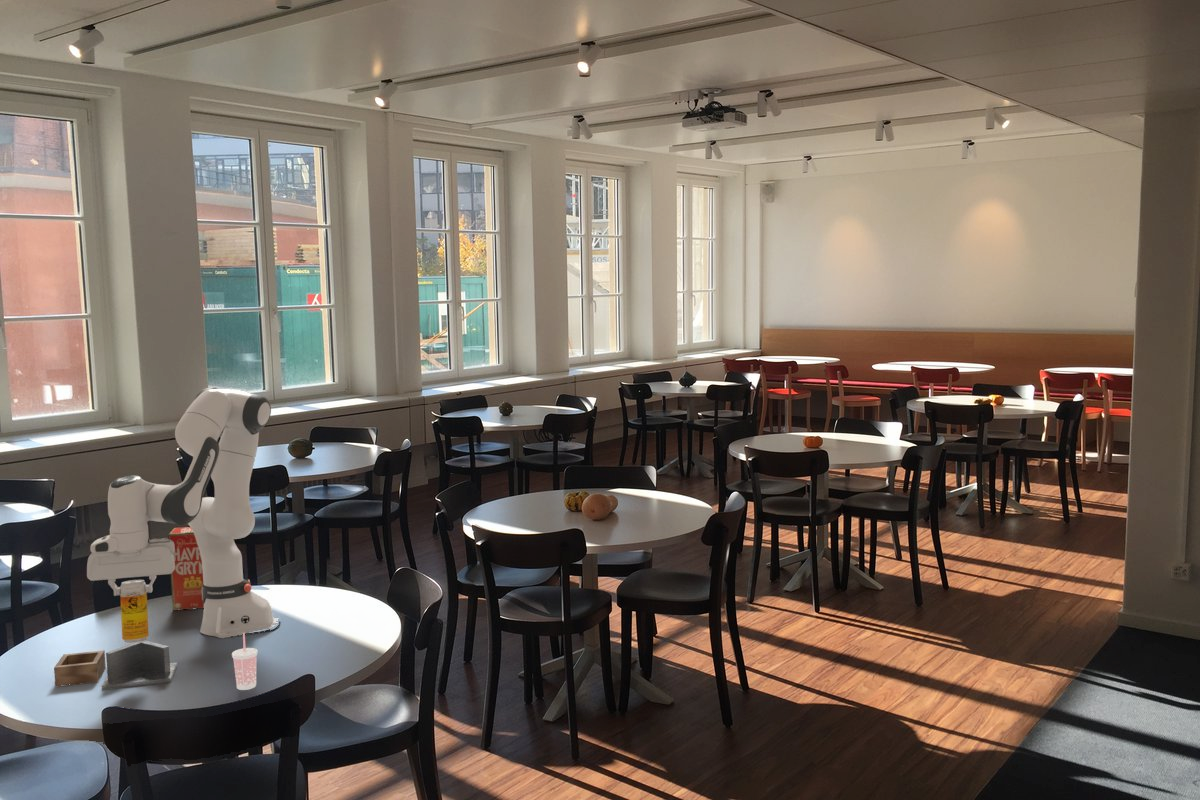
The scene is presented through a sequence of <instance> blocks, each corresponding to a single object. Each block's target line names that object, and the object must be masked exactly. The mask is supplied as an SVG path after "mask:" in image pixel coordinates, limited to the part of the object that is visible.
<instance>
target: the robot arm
mask: <svg viewBox="0 0 1200 800" xmlns="http://www.w3.org/2000/svg"><path fill="white" fill-rule="evenodd" d="M271 407H272V406H271V404H270V402H269V399H267V397H265V396H263V395H260V394H258V393H251V392H247V391H244V390H239V389H227V388H218V387H205V388H203V389H202V390H200V391H199V392H198V393H197V395H196V396H195V398H194V400H193V401H192V402H191V404H190V405H189V406H188V407H187V408H186V410H185V412H184V413H183V415H182V416H181V418H180V419H179V421H178V423H177V424H176V427H175V431H174V438H175V441H176V442H177V445H178V446H179V448H181V449H182V450H183V451H184V452H185V453H186V454H188V455H189V456H191V457H192V461H191V462H190V463H191V464H190V465H189V467H188V470H187V473H186V475H185V477H184V479H183V481H181V482H180V483H178V484H174V485H173V484H162V483H153V482H150V481H147V480H144V479H142V477H141V476H139V475H127V476H122V477H118V478H115V479H114V480H113V481H112V482H111V483H110V484H109V487H108V492H107V493H108V494H107V514H108V517H109V519H110V526H109V534H108V535H105V536H103V537H100V538H97V539H96V540H94V541H93V542H92V543H91V544H90V552H91V553H90V555H89V556H88V558H87V563H86V564H87V565H86V578H87V579H88V580H90V581H91V582H93V581H103V580H104V581H105V580H107V584H108V586H110V588H111V589H112V590H113V596H114V597H116V596H120V586H118V585H117V584H116V583H115V582H116V580H117V579H127V578H140V577H149V578H148V579H149V580H150V583H149V584H146V586H145V593H147V594H150V593H151V594H152V592H153V584H154V582H155V581H156V579H157V576H160V575H161V576H162V575H171V573H172V572H173V571H174V569H175V561H174V556H173V553H174V551H175V545H174V542H173V541H172V540H170V539H168V537H162V538H150V537H149V535H150V534H149V525H148V522H149V521H151V522H152V521H153V522H160V523H161V522H162V523H169V524H174V525H178V526H185V525H188V526H189V527H191V529H192V531H193V533H194V535H195V538H196V541H197V544H198V547H199V551H200V555H201V560H202V570H203V585H202V600H203V603H204V609H203V612H202V621H201V625H200V630H199V632H200V633H201V634H203V635H206V636H210V637H217V638H219V639H227V638H232V637H231V636H233V637H237V636H236V635H239V636H242V635H241V634H243V633H249V632H253V631H258V630H263V629H269V628H272V627H274V626H276V625H277V624H276V625H271V624H274V623H278V622H276V621H278V619H279V618H274V617H273V615H272V614H273V610H272V606H271V605H270V604H271V603H270V602H269V601H268V599H266V598H264V597H262V596H261V595H259V594H257V593H255V592H253V591H252V585H251V581H250V579H245V578H244V573H243V556H242V552H241V550H240V549H239V548H238V546H237V544H236V543H235V540H237V539H239V540H240V539H242V538H243V539H244V538H246V537H247V536H249V535H250V533H252V532H253V529H254V527H255V523H256V518H255V517H256V516H255V513H254V511H253V509H252V508H251V501H250V482H251V477H252V473H253V469H254V465H255V461H256V457H257V451H258V448H259V447H258V446H259V439H260V438H259V437H260V436H259V435H260V431H261V430H263V428H264V427H266V425H267V424H268V423H269V421H270V417H271V413H272V408H271ZM219 438H220V440H219ZM218 440H219V441H218ZM210 479H211V480H212V482H213V487H214V497H213V496H212V497H211V496H206V497H203V496H204V494H205V492H206V489H207V486H208V484H209V481H210ZM169 541H170V542H169Z"/></svg>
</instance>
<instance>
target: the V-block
mask: <svg viewBox="0 0 1200 800" xmlns="http://www.w3.org/2000/svg"><path fill="white" fill-rule="evenodd" d="M105 661H106V669H107V670H106V672H107V676H106V678H105V679H104V681H103V683H102V685H101V690H110V689H112V690H113V689H119V688H130V687H138V686H146V685H155V684H156V685H157V684H164V683H171V682H172V679H173V677H174V674H175V672H176V669H177V666H178V662H171V659H170V646H169V645H165V644H162V643H157V642H154V641H153V642H152V641H149V640H143V641H139V642H131V643H130V644H127V645H124V646H121V647H119V648H116V649H113V650H109V651H107V652H106V653H105Z"/></svg>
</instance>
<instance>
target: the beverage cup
mask: <svg viewBox="0 0 1200 800" xmlns="http://www.w3.org/2000/svg"><path fill="white" fill-rule="evenodd" d="M242 642H243V646H242V647H243V648H239V649H236V650H234V651H232V653H231V658H233V659H232V660H233V668H234V674H235V675H234V677H235V683H236V689H237V690H240V691H247V690H251V689H252V690H253V689H254V688H256V687H257V660H258V659H257V655H258V652H259V651H258V649H257V648H254V647H246V635H245V633H243V635H242Z"/></svg>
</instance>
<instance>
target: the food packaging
mask: <svg viewBox="0 0 1200 800" xmlns="http://www.w3.org/2000/svg"><path fill="white" fill-rule="evenodd" d="M167 538H168V539H170V540H172V541H173V542H174V545H175V551H174V553H173V556H174V561H175V569H174V571H173V572H172V573H171V574H170V584H171V598H172V599H171V600H172V601H171V602H172V611H173V610H178V609H192V610H194V609H193V608H204V603H203V600H202V585H203V570H202V560H201V555H200V551H199V547H198V544H197V541H196V538H195V535H194V533H193V531H192V529H191V527H190V526H189V527H186V526H185V527H174V528H172V530H171V531H170V532H169V534H167ZM168 542H170V541H168ZM178 611H179V610H178Z"/></svg>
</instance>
